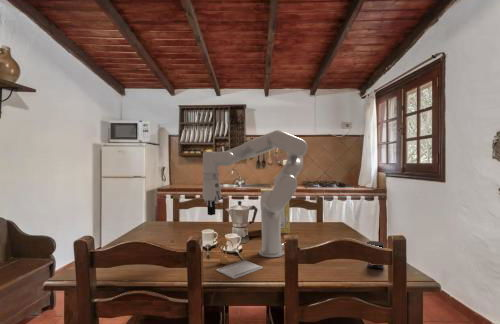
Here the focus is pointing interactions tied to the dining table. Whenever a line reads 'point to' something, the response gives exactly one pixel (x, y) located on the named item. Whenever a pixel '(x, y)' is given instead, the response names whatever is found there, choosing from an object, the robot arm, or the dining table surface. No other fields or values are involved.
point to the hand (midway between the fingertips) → (211, 214)
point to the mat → (239, 269)
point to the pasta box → (281, 216)
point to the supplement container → (380, 244)
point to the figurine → (224, 258)
